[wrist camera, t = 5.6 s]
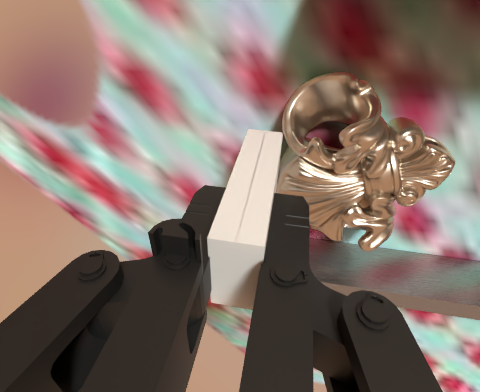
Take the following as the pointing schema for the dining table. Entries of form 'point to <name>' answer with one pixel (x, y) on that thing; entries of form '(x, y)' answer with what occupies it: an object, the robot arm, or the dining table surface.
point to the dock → (400, 277)
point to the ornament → (355, 159)
